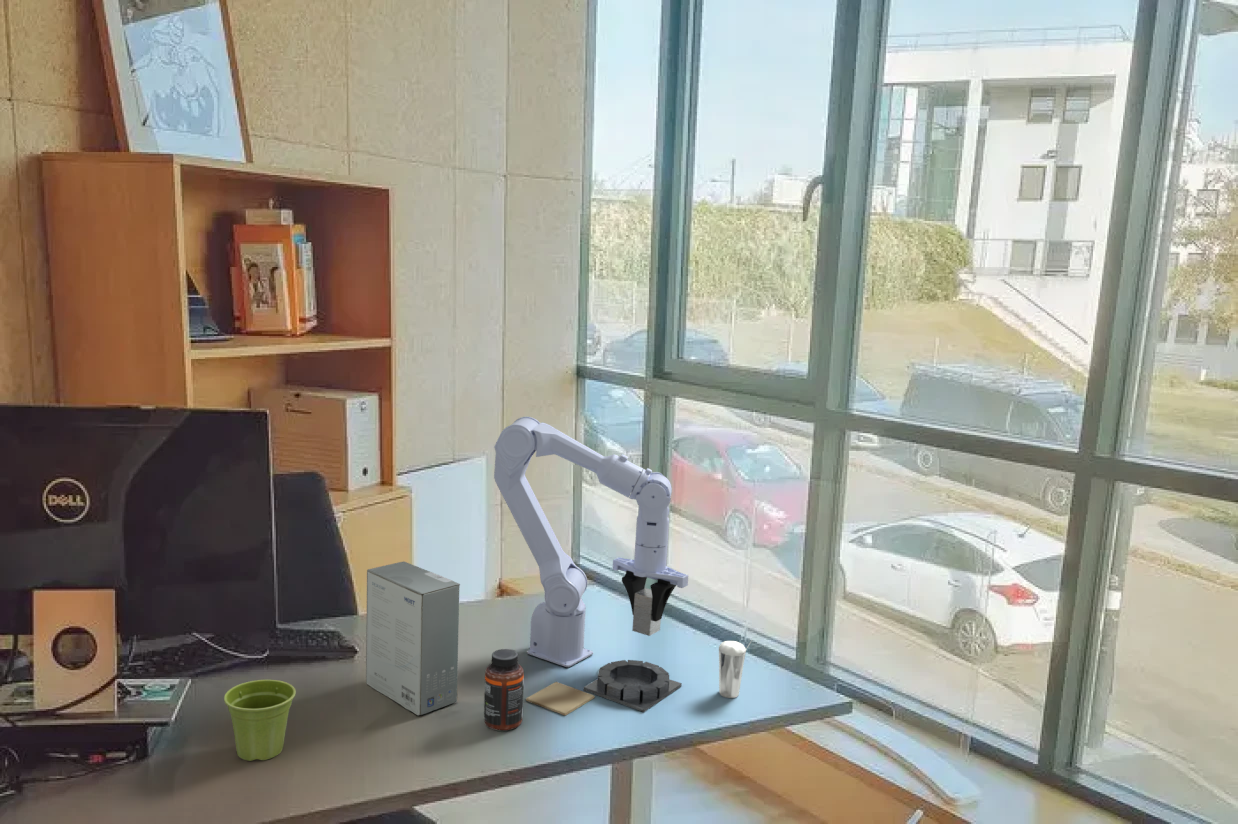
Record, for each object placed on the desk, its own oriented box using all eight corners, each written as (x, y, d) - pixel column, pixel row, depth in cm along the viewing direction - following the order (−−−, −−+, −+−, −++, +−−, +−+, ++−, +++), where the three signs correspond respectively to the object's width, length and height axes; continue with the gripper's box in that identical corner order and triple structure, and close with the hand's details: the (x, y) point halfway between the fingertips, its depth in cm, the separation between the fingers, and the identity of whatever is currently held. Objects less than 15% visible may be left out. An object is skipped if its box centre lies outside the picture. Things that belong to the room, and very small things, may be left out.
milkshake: (746, 702, 158) (750, 645, 157) (714, 698, 159) (718, 641, 158) (748, 690, 163) (752, 635, 161) (716, 686, 164) (721, 631, 162)
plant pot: (265, 728, 142) (264, 673, 140) (309, 747, 137) (309, 690, 136) (210, 754, 134) (209, 696, 132) (255, 775, 129) (255, 715, 128)
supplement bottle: (528, 718, 149) (531, 650, 147) (512, 735, 143) (514, 664, 142) (494, 710, 151) (496, 643, 149) (476, 727, 145) (478, 657, 143)
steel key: (632, 630, 170) (634, 593, 169) (643, 625, 173) (645, 588, 172) (649, 636, 168) (652, 598, 167) (660, 630, 171) (662, 592, 170)
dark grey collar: (583, 690, 160) (584, 676, 159) (622, 667, 169) (623, 654, 169) (643, 712, 153) (644, 698, 153) (681, 686, 163) (682, 673, 162)
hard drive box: (458, 703, 153) (462, 584, 150) (419, 718, 147) (421, 594, 144) (402, 671, 163) (404, 559, 160) (363, 684, 158) (364, 568, 154)
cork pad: (525, 700, 155) (525, 698, 155) (556, 683, 161) (556, 681, 161) (565, 715, 150) (565, 713, 150) (594, 697, 157) (594, 695, 157)
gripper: (604, 539, 168) (600, 612, 170) (675, 557, 160) (670, 633, 163) (626, 531, 174) (622, 602, 176) (696, 547, 166) (690, 621, 168)
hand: (646, 616), depth 170 cm, fingers closed on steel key, 4 cm apart
